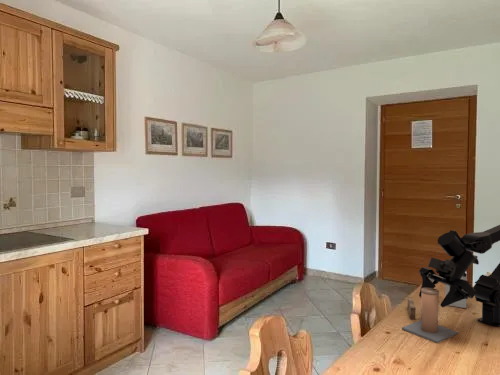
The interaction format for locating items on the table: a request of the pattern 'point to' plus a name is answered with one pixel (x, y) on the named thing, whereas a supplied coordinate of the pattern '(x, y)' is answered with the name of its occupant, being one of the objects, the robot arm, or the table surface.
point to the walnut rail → (411, 308)
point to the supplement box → (459, 303)
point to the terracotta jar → (429, 309)
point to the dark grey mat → (435, 337)
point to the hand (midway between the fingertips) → (430, 301)
